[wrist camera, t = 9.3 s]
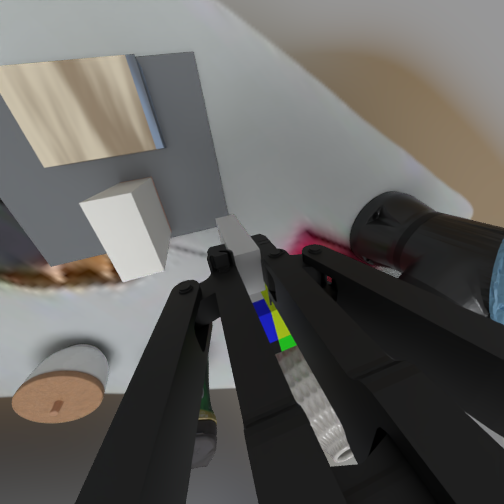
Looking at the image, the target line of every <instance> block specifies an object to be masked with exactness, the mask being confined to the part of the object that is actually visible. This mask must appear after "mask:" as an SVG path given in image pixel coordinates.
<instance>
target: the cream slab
mask: <svg viewBox="0 0 504 504" xmlns="http://www.w3.org/2000/svg"><path fill="white" fill-rule="evenodd" d="M79 204H80V206H81V208H82V210H83V212H84V213H85V215H86V217H87V219H88V220H89V222H90V224H91V226H92V228H93V229H94V231H95V233H96V235H97V237H98V238H99V240H100V242H101V244H102V245H103V247H104V249H105V251H106V253H107V254H108V256H109V258H110V260H111V262H112V263H113V265H114V267H115V269H116V270H117V272H118V274H119V276H120V278H121V279H122V281H123V282H126V281H129V280H133V279H137V278H140V277H144V276H148V275H152V274H155V273H159V272H163V271H164V270H165V265H166V259H167V254H168V248H169V243H170V237H171V232H172V231H171V228H170V225H169V223H168V220H167V217H166V214H165V212H164V209H163V206H162V203H161V201H160V198H159V195H158V192H157V190H156V187H155V184H154V181H153V179H152V177H147V178H142V179H136V180H131V181H126V182H120V183H118V184H116V185H114V186H112V187H110V188H108V189H106V190H104V191H102V192H100V193H98V194H96V195H94V196H92V197H90V198H88V199H86V200H84V201H82V202H80V203H79Z"/></svg>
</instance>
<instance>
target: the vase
mask: <svg viewBox="0 0 504 504" xmlns="http://www.w3.org/2000/svg"><path fill="white" fill-rule="evenodd" d="M275 356H276V358H277V360H278V362H279V365H280V367H281V369H282V371H283V374H284V376H285V378H286V380H287V383H288V385H289V387H290V390H291V392H292V394H293V396H294V398H295V400H296V402H297V403H298V404H299V405H301V407H302V408H303V410H304V411H305V413H306V415H307V417H308V419H309V421H310V424H311V426H312V428H313V430H314V432H315V435H316V437H317V439H318V441H319V443H320V445H321V448H322V450H323V451H325V452H327V453H328V454H329V455H330V456H331V457H332V459H333V460H334V461H335V462H337V463H338V462H343V461H346V460H348V459H350V458H351V457H353V456H354V455H353V453H352V451H351V449H350V447H349V444H348V442H347V439H346V435H345V432H344V429H343V427H342V424H341V423H340V421H339V419H338V417H337V415H336V413H335V412H334V410H333V408H332V406H331V405H330V403H329V401H328V399H327V398H326V396H325V394H324V392H323V390H322V389H321V387H320V385H319V383H318V382H317V380H316V378H315V376H314V374H313V373H312V371H311V369H310V367H309V366H308V364H307V362H306V360H305V359H304V357H303V355H302V353H301V351H300V350H299V348H298V346H297V345H296V346H294V347H291V348H289V349H287V350H284V351H282V352H280V353H277V354H275Z"/></svg>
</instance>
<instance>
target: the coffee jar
mask: <svg viewBox="0 0 504 504" xmlns="http://www.w3.org/2000/svg"><path fill="white" fill-rule="evenodd" d="M216 426H217V421H216V417H215V415H214V412H213V410H212V407H211V402H210V395H209V357H208V359H207V366H206V372H205V379H204V386H203V392H202V399H201V405H200V412H199V419H198V425H197V432H196V439H195V445H194V452H193V458H192V465H191V469H193V468H198V467H206V466H208V464H209V463H210V461H211V460H212V458H213V456H214V454H215V451H216V443H217V442H216V441H217V437H216V435H217V427H216Z"/></svg>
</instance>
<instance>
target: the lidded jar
mask: <svg viewBox="0 0 504 504" xmlns="http://www.w3.org/2000/svg"><path fill="white" fill-rule="evenodd" d="M108 375H109V365H108V361H107V359H106V357H105V356H104V354H103V353H102V352H101V350H100V349H99V348H97V347H95V346H93V345H89V344H77V345H73V346H70V347H68V348H65V349H62V350H59V351H57V352H55V353H54V354H52V355H50V356H49V357H47V358H46V359H45V360H43V361H42V362H41V363H40V364H39V365H38V366H37V367H36V368H35V369H34V370H33V371H32V373H31V374H30V375H29V376H28V378H27V379H26V380H25V382H24V383H23V384H22V385H21V386H20V387H19V389H18V390H17V391H16V393H15V394H14V396H13V399H12V406H13V409H14V411H15V412H16V413H17V414H19V415H20V416H21V417H23V418H25V419H28V420H31V421H35V422H40V423H61V422H68V421H72V420H76V419H79V418H82V417H84V416H86V415H88V414H90V413H91V412H92V411H94V410H95V409H96V408H97V407H98V406H99V405H100V404H101V402H102V400H103V397H104V392H105V388H106V385H107V381H108Z"/></svg>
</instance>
